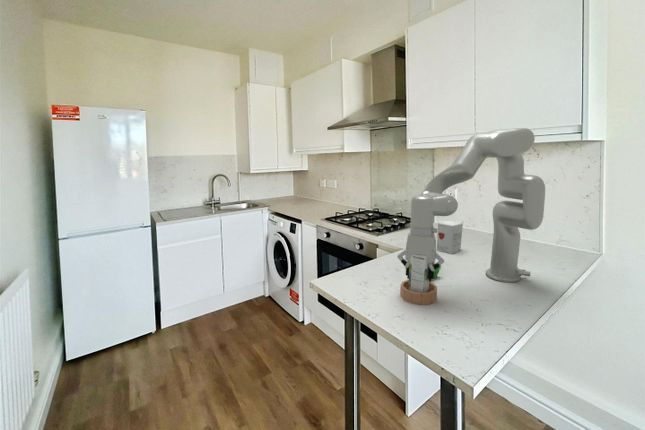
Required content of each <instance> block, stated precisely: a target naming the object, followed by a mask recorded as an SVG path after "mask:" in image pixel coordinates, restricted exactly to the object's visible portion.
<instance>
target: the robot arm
mask: <svg viewBox="0 0 645 430" xmlns="http://www.w3.org/2000/svg"><path fill="white" fill-rule="evenodd" d="M535 138H536V136H535V134H534V132H533V131H532V130H531V129H530V128H527V127H519V128H502V129H501V128H500V129H495V130H491V131H489V132H482V133H481V132H480V133H476V134H473V135H471V136H470V137H469V139H468V140H467V141H466V143H465V145H464V146H463V147H462V149H461V150H460V152H459V153H458V155H457V157H456V158H454V161H453V162H452V163H451V165H450V166H449V167H446V168H445V169H444V170H442V171H441V172H440V173H438V174H437V175H436V176H434V177H433V178H431V180H430V181H428V183H427V184H426V186H425V187H424V189H423V190H422V192H421V193H420V194H418V195H417V194H416V195H414V196H413V197H411V201H410V202H411V205H410V227H409V228H410V229H409V232H408V234H407V238H406V244H405V245H406V246H405V249H404V250H402V252H400V253H399V254H397V259H398V260H399V261H400V262H401V264H402V265H403V266H404V268H405V276H406V277H407V278H406V280H409V265H410V258H411V257H412V255H414V254H417V255H423V256H426V257H427V264H428V265H429V267H430V271H429V282H431V283H432V280H434V270H435V269H437V268H438V267H439V266H440V265H441V266H442V265H443V264H444V263H445V259H444V258H443V257H442V256H441V255H440V254H438V252H437V238H436V235H435V234H436V233H437V234H438V228H435V227H434V218H435V217H436V216H437V217H449V216H452V215H453V214H455V213H456V211H457V210H458V207H459V203H458V201H457V199H456V198H455V197H454V196H453V195H450V194H446V193H444V191H446V190H447V189H448V188H451V187H454V186H456V185H458V184H461V183H464V182H467V181H469V180H472V179H473V178H474V177H475V175H476V173H477V172H478V170H479V169H480V168H481V166H482V165H483V163H484V161H485V160H486V159H488V158H492V159H493V158H494V159H495V158H496V160H497V164H498V165H497V166H498V167H497V168H498V172H497V173H498V174H497V191H498V194H499V195H500V196H501V197H504V198H507V199H511V200H501V201H499V202H497V203H495V205H494V206H493V207H492V221H493V223H492V224H493V235H492V236H493V237H492V246H491V256H490V257H491V258H490V267H489V268H488V269H486V270H485V275H486V276H487V277H488V278H490V279H492V280H493V281H494V280H495V281H497V282H504V283H515V282H519V281H521V276H525V277H531V271H527V270H526V269H520V268H519V267H518V262H519V254H520V246H521V244H520V243H521V232H520V230H519V229H524V230H527V231H529V230H530V231H533V230H536V229H538V228H539V227H540V226H541V224H542V223H543V220H544V216H545V215H544V213H545V212H544V211H545V199H546V185H545V181H544V180H543V179H542V178H541V177H540V176H538V175H533V174H525V160H524V156H523V155H522V154H524V153H527V152H528V151H530V150H531V149H532V147H533V146H534V143H535ZM513 200H514V201H513ZM515 200H517V201H515ZM518 200H520V201H522V202H520V201H518ZM433 233H434V234H433ZM404 257H405V258H404ZM436 260H437V262H436ZM434 263H435V264H434Z"/></svg>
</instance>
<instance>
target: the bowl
mask: <svg viewBox="0 0 645 430" xmlns="http://www.w3.org/2000/svg"><path fill="white" fill-rule="evenodd" d="M408 284H409V279H405V280H404V281H401V283H400V291H399V292H400V293H399V296H400V297H401V298H402V300H404V301H405V302H408V303H410V304H414V305H420V306H422V305H430V304H433V303H435V302H437V294H438V286H437V285H436V284H434V282H432V281H431V282H429V290H428V291H427V292H425V293H419V292H413V291H410V290H408Z"/></svg>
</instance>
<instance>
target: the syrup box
mask: <svg viewBox="0 0 645 430" xmlns="http://www.w3.org/2000/svg"><path fill="white" fill-rule="evenodd" d="M429 271H430V267H429V265H428V264H427V257H426V256H423V255H417V254H414V255H412V257H411V258H410V265H409V279H408V280H409V284H408V290H410V291H413V292H419V293H425V292H427V291H428V290H429Z"/></svg>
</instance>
